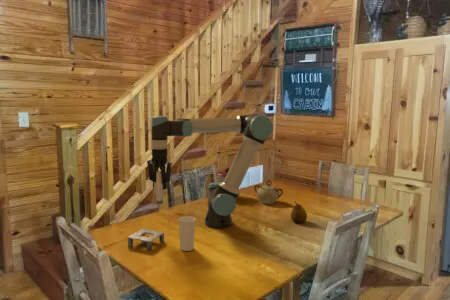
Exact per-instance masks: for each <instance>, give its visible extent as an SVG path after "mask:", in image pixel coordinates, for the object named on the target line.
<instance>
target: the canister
mask: <svg viewBox="0 0 450 300" xmlns="http://www.w3.org/2000/svg"><path fill="white" fill-rule="evenodd" d="M229 169H230V167H225V168H224V169H223V170H218V171H217V172H214V175H213V176H214V177H215V182H223V181H224V179H225V177H226V175H227V173H228V171H229Z"/></svg>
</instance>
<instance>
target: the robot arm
mask: <svg viewBox="0 0 450 300" xmlns="http://www.w3.org/2000/svg"><path fill="white" fill-rule="evenodd" d="M273 131H274V125H273V122H272V120H271V119H270V118H269V117H268V116H266V115H265V114H258V113H252V114H244V115H237V116H236V117H211V118H210V117H209V118H207V117H203V118H182V117H181V118H176V119H173V120H169V119H168V117H167V116H164V115H163V116H162V115H154V116H152V118H151V148H152V149H151V159H148V160H147V161H146V162H147V168H148V179H149V181H151V182H152V188H153V196H156V171H161V177H162V182H161V196H163V197H164V196H165V195H166V189H167V183H170V182H171V173H172V166H173V162H172V161H169V160H168V137H185V138H186V137H192V135H193V134H199V133H200V134H201V133H202V134H203V133H204V134H205V133H206V134H207V133H235V132H236V133H237V134H242V135H241V136H242V138H243V139H242V142H241V144H240V147H239V148H238V149H237V152H236V155H235V157H234V158H233V161H232V162H231V165H230V167H229V168H230V169H229V171H228V173H227V175H226V177H225V179H224V181H223V182H216V181H214V182H210V183H209V184H208V188H207V190H208V192H207V193H208V198H207V199H208V200H207V202H208V203H207V212H206V215H205V217H204V225H205V226H207V227H209V228H214V229H223V228H224V229H226V228H228V227H231V226H232V225H233V218H232V214H233V213H234V212H235V210H236V209H237V200H238V198H239V197H240V193H241V192H240V191H239V189H240V188H241V185H242V182H243V181H244V180H245V177H246V174H247V173H248V170H249V168H250V166H251V164H252V162H253V160H254V158H255V156H256V154H257V152H258V149H259V148H260V147H262V146H264V144H265V142H266V140H267V139H269V138H270V137H271V135H272V134H273Z"/></svg>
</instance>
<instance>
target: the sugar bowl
mask: <svg viewBox="0 0 450 300" xmlns="http://www.w3.org/2000/svg"><path fill="white" fill-rule="evenodd" d="M253 188H254V191H255V193H256V195H257V198H258V199H259V201H260V203H261V204H263V205H273V204H274V203H275V202H277V200H279V199H280V197H281V196H282V195H283V194H284V191H283V189H282V188H277V186H274V185H273V182H272V181H271V180H267V181H266V183H265V184H264V185H258V184H256V185H255V186H254V187H253Z"/></svg>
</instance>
